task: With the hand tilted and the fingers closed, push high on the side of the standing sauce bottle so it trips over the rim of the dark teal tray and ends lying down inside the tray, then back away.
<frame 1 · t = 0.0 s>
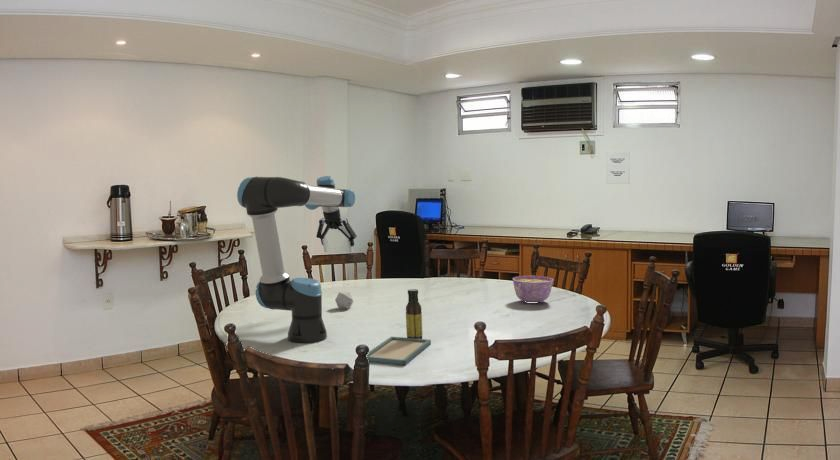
hand: (339, 251, 303), 28 cm above the table, tool tilted 20°, fingers open, 13 cm apart
teal tray: (397, 352, 234), on the table
die: (344, 309, 309), on the table
bowl of food: (532, 302, 320), on the table
sauce bottle: (414, 340, 251), on the table
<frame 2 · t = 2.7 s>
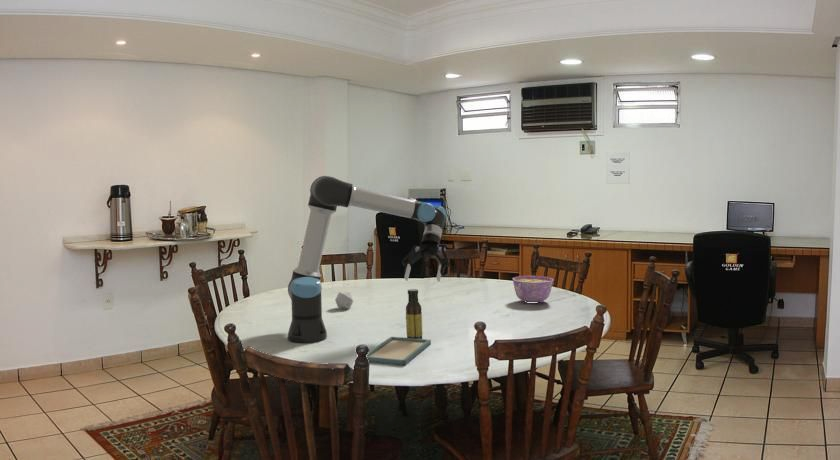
hand: (421, 279, 261), 22 cm above the table, tool tilted 45°, fingers open, 13 cm apart
nothing on the table moved.
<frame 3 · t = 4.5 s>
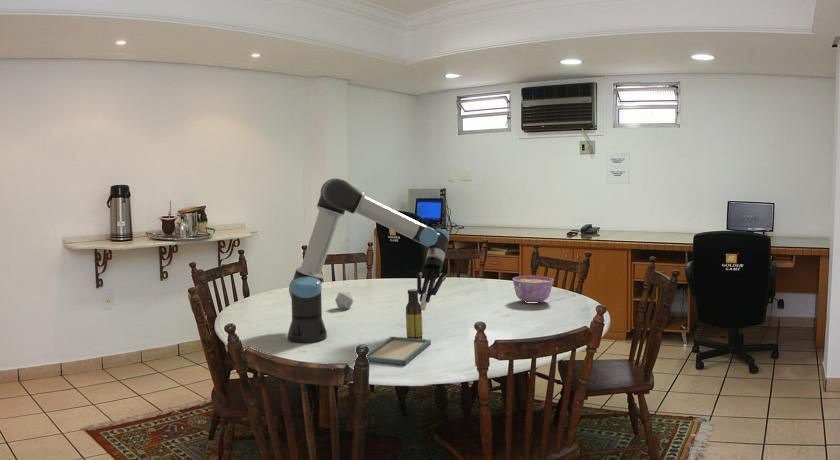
hand: (422, 308, 259), 11 cm above the table, tool tilted 45°, fingers closed
nothing on the table moved.
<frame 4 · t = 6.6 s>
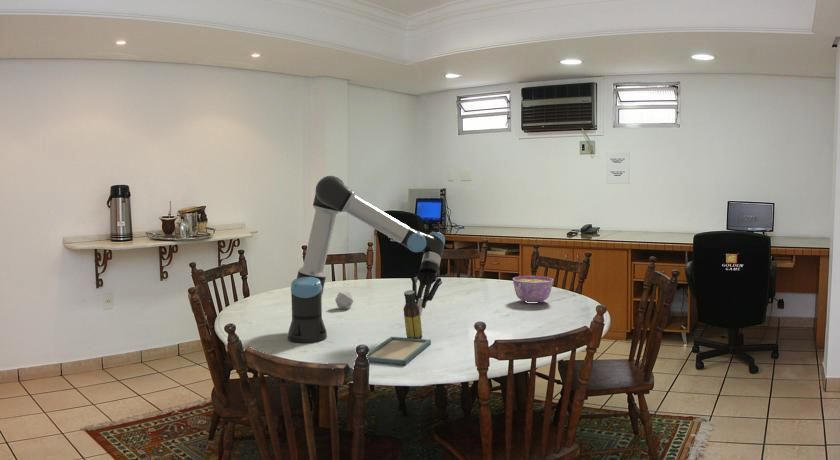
hand: (418, 314, 251), 10 cm above the table, tool tilted 45°, fingers closed
sauce bottle: (414, 338, 251), on the table, touching gripper
everything else where it was.
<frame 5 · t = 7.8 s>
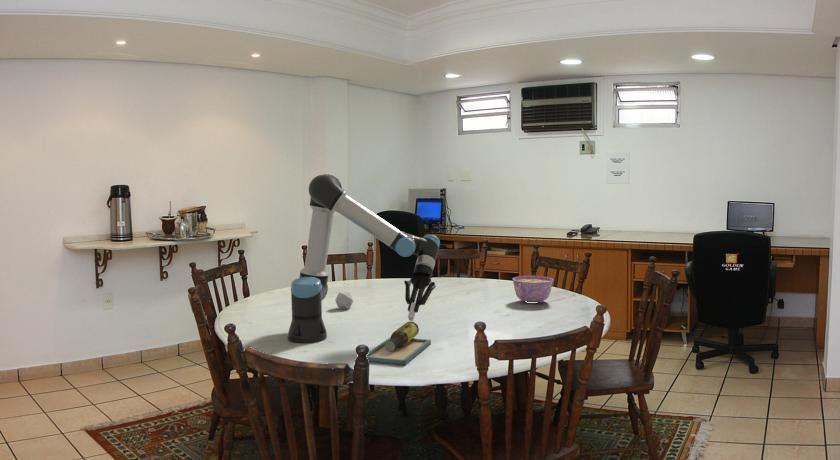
hand: (410, 318, 246), 9 cm above the table, tool tilted 45°, fingers closed
sauce bottle: (412, 328, 249), point 5 cm above the table, touching teal tray
everything else where it was.
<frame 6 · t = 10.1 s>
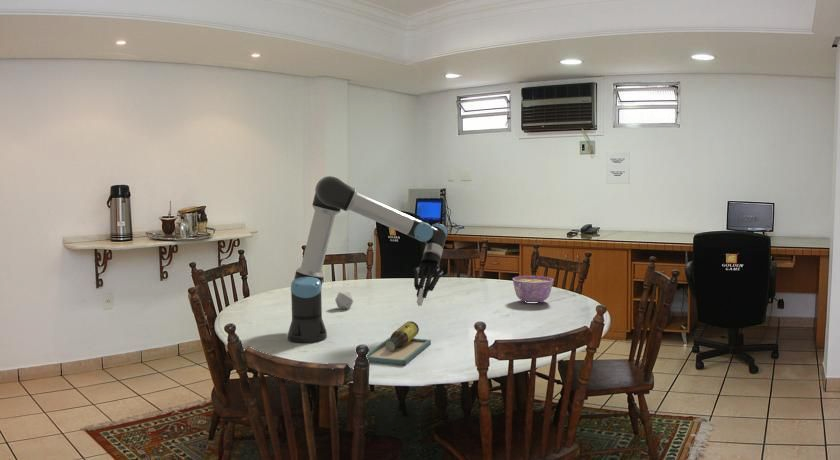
hand: (419, 303, 256), 13 cm above the table, tool tilted 45°, fingers closed
nothing on the table moved.
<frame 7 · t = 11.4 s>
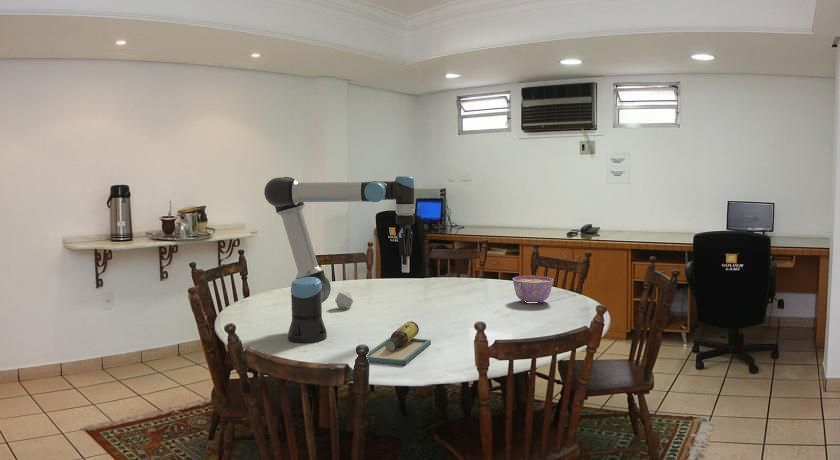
hand: (405, 272, 264), 24 cm above the table, tool pointing down, fingers closed
nothing on the table moved.
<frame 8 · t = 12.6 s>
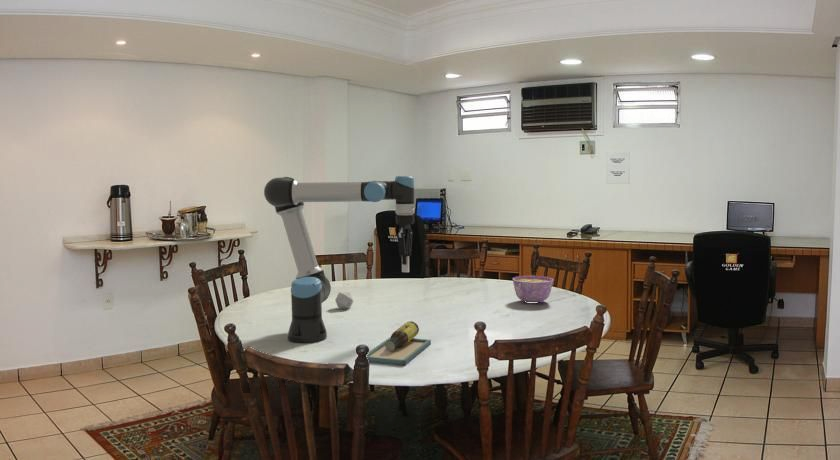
hand: (405, 271, 264), 24 cm above the table, tool pointing down, fingers closed
nothing on the table moved.
at the end: sauce bottle tilted 95°; sauce bottle 16.4 cm from the teal tray (horizontally); the gripper is holding nothing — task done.
